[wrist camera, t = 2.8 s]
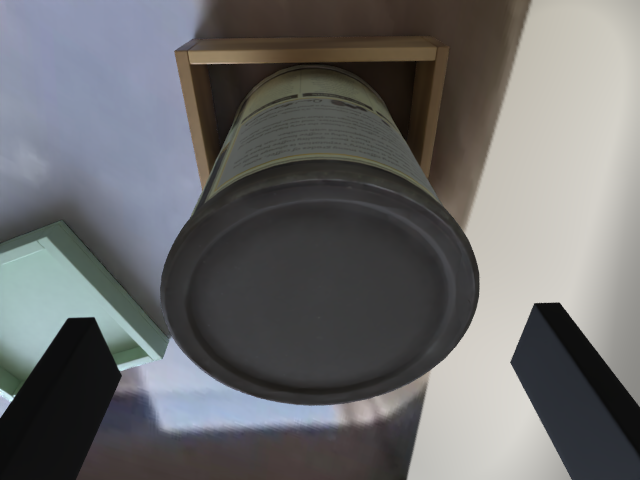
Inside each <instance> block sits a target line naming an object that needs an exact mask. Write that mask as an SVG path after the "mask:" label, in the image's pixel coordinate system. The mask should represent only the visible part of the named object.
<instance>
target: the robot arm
mask: <svg viewBox="0 0 640 480" xmlns="http://www.w3.org/2000/svg"><path fill="white" fill-rule="evenodd" d="M510 363H511V365H512V366H513V368H514V370H515V372H516V374H517V376H518V378H519V380H520V382H521V384H522V386H523V388H524V389H525V391H526V393H527V395H528V397H529V399H530V401H531V403H532V405H533V407H534V408H535V410H536V412H537V414H538V416H539V418H540V420H541V422H542V424H543V425H544V427H545V429H546V431H547V433H548V435H549V437H550V439H551V440H552V443H553V445H554V447H555V448H556V450H557V452H558V454H559V456H560V458H561V460H562V462H563V464H564V465H565V467H566V469H567V471H568V473H569V475H570V477H571V479H572V480H640V407H639V406H638V404H637V403H636V402H635V400H634V399H633V398H632V397H631V395H630V394H629V393H628V391H627V390H626V389H625V387H624V386H623V385H622V383H621V382H620V381H619V380H618V378H617V377H616V376H615V374H614V373H613V372H612V371H611V369H610V368H609V367H608V365H607V364H606V363H605V361H604V360H603V359H602V358H601V356H600V355H599V354H598V352H597V351H596V350H595V348H594V347H593V346H592V344H591V343H590V342H589V341H588V339H587V338H586V337H585V335H584V334H583V333H582V331H581V330H580V329H579V327H578V326H577V325H576V323H575V322H574V321H573V320H572V318H571V317H570V316H569V314H568V313H567V312H566V310H565V309H564V308H563V307H562V305H561V304H560V303H535V304H534V306H533V308H532V311H531V313H530V316H529V318H528V321H527V323H526V325H525V328H524V330H523V333H522V335H521V337H520V340H519V342H518V345H517V347H516V350H515V353H514V355H513V357H512V360H511V362H510ZM121 377H122V375H121V373H120V371H119V369H118V367H117V364H116V362H115V360H114V358H113V356H112V354H111V352H110V349H109V347H108V345H107V343H106V341H105V339H104V337H103V334H102V332H101V330H100V328H99V326H98V324H97V322H96V319H95V317H79V318H68V319H67V320H66V322H65V323H64V324H63V326H62V327H61V329H60V330H59V332H58V333H57V335H56V336H55V338H54V339H53V341H52V342H51V344H50V345H49V347H48V348H47V350H46V351H45V353H44V354H43V356H42V357H41V359H40V360H39V362H38V363H37V365H36V366H35V368H34V369H33V371H32V372H31V373H30V375H29V376H28V378H27V379H26V381H25V382H24V384H23V385H22V387H21V388H20V390H19V391H18V393H17V394H16V396H15V397H14V399H13V400H12V402H11V403H10V405H9V406H8V408H7V409H6V411H5V412H4V414H3V415H2V417H1V418H0V480H76V478H77V476H78V473H79V471H80V469H81V467H82V464H83V462H84V460H85V458H86V455H87V453H88V451H89V449H90V446H91V444H92V442H93V440H94V437H95V435H96V433H97V431H98V428H99V426H100V424H101V422H102V419H103V417H104V415H105V413H106V410H107V408H108V406H109V404H110V401H111V399H112V397H113V395H114V392H115V390H116V388H117V386H118V383H119V381H120V379H121Z"/></svg>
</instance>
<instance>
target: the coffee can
mask: <svg viewBox="0 0 640 480" xmlns="http://www.w3.org/2000/svg"><path fill="white" fill-rule="evenodd" d="M478 298H479V270H478V265H477V262H476V258H475V255H474V252H473V250H472V247H471V245H470V243H469V240H468V239H467V237H466V235H465V234H464V232H463V231H462V229H461V228H460V226H459V225H458V224H457V222H456V221H455V220H454V218H453V217H452V216H451V215H450V214H449V212H448V211H447V210H446V209H445V208H444V207H443V205H442V203H441V202H440V200H439V198H438V197H437V195H436V193H435V191H434V190H433V188H432V186H431V185H430V183H429V181H428V179H427V178H426V176H425V174H424V172H423V171H422V169H421V167H420V166H419V164H418V162H417V161H416V159H415V157H414V155H413V154H412V152H411V150H410V148H409V146H408V145H407V143H406V141H405V140H404V138H403V137H402V135H401V133H400V131H399V130H398V128H397V126H396V125H395V123H394V121H393V120H392V117H391V115H390V112H389V110H388V108H387V106H386V105H385V103H384V101H383V100H382V98H381V97H380V96H379V95H378V93H377V92H376V91H375V90H374V89H373V88H372V87H371V86H370V85H369V84H368V83H366V82H365V81H364V80H362V79H361V78H360V77H358V76H357V75H355V74H353V73H351V72H349V71H347V70H343V69H340V68H338V67H334V66H329V65H322V64H304V65H297V66H293V67H289V68H286V69H281V70H279V71H277V72H276V73H274V74H272V75H270V76H268V77H266V78H265V79H264V80H262V81H261V82H260V83H258V84H257V85H256V86H255V87H254V88H253V89H252V90H251V91H250V92H249V93H248V94H247V96H246V97H245V98H244V100H243V101H242V103H241V104H240V106H239V108H238V110H237V112H236V115H235V116H234V121H233V124H232V127H231V129H230V131H229V133H228V136H227V138H226V140H225V142H224V145H223V147H222V149H221V151H220V153H219V155H218V157H217V159H216V162H215V164H214V166H213V169H212V171H211V173H210V175H209V178H208V180H207V182H206V184H205V186H204V189H203V191H202V193H201V195H200V197H199V200H198V202H197V204H196V206H195V208H194V210H193V213H192V215H191V217H190V219H189V220H188V221H187V223H186V224H185V225H184V227H183V228H182V230H181V231H180V233H179V234H178V236H177V238H176V240H175V241H174V243H173V245H172V247H171V250H170V252H169V254H168V256H167V259H166V262H165V264H164V268H163V272H162V276H161V287H160V299H161V307H162V311H163V316H164V320H165V322H166V325H167V327H168V329H169V332H170V334H171V336H172V337H173V339H174V340H175V342H176V343H177V345H178V346H179V347H180V349H181V350H182V351H183V352H184V353H185V355H186V356H187V357H188V358H189V359H190V360H191V361H192V362H193V363H194V364H196V365H197V366H198V367H199V368H200V369H201V370H203V371H204V372H205V373H206V374H208V375H209V376H211V377H212V378H214V379H215V380H217V381H219V382H220V383H222V384H224V385H226V386H228V387H230V388H232V389H235V390H237V391H240V392H242V393H245V394H248V395H251V396H254V397H257V398H261V399H266V400H270V401H275V402H281V403H288V404H295V405H309V406H312V405H335V404H344V403H350V402H355V401H360V400H365V399H370V398H372V397H375V396H379V395H382V394H385V393H388V392H391V391H394V390H396V389H398V388H400V387H402V386H405V385H407V384H409V383H411V382H413V381H414V380H416V379H418V378H419V377H421V376H422V375H424V374H425V373H427V372H428V371H430V370H431V369H432V368H434V367H435V366H436V365H437V364H439V363H440V362H441V361H442V360H444V359H445V358H446V357H447V356H448V354H449V353H450V352H451V351H452V350H453V349H454V348H455V347H456V346H457V344H458V343H459V341H460V340H461V338H462V337H463V336H464V334H465V333H466V331H467V329H468V328H469V326H470V324H471V321H472V319H473V316H474V314H475V311H476V308H477V303H478Z"/></svg>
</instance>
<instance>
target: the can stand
mask: <svg viewBox="0 0 640 480" xmlns="http://www.w3.org/2000/svg"><path fill="white" fill-rule="evenodd" d="M449 50H450V47H449V46H447V45H445V44H444V43H442V42H440V41H438V40H437V39H435V38H433V37H432V36H363V37H291V38H219V39H192V40H190V41H189V42H187V43H186V44H184V45H183V46H181V47H180V48H178V49H177V50H175V51H174V52H175V57H176V62H177V67H178V72H179V77H180V82H181V87H182V92H183V97H184V102H185V107H186V112H187V117H188V122H189V127H190V132H191V137H192V142H193V147H194V152H195V157H196V162H197V166H198V171H199V176H200V181H201V186H202V191H203V189H204V186H205V184H206V182H207V180H208V178H209V175H210V173H211V171H212V169H213V166H214V164H215V162H216V159H217V157H218V155H219V153H220V151H221V146H220V140H219V133H218V127H217V121H216V115H215V108H214V102H213V96H212V90H211V83H210V77H209V71H208V65H207V64H247V63H313V62H379V61H417V63H416V71H415V80H414V88H413V96H412V104H411V112H410V120H409V129H408V137H407V145H408V146H409V148H410V150H411V152H412V154H413V155H414V157H415V159H416V161H417V162H418V164H419V166H420V167H421V169H422V171H423V172H424V174H425V176H426V178H427V179H428V178H429V172H430V166H431V160H432V153H433V147H434V141H435V135H436V129H437V123H438V117H439V111H440V105H441V99H442V92H443V86H444V80H445V74H446V68H447V62H448V56H449Z"/></svg>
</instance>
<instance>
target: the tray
mask: <svg viewBox="0 0 640 480" xmlns="http://www.w3.org/2000/svg"><path fill="white" fill-rule="evenodd" d="M79 317H95V319H96V322H97V324H98V326H99V328H100V330H101V332H102V334H103V337H104V339H105V341H106V343H107V345H108V347H109V349H110V352H111V354H112V356H113V358H114V360H115V362H116V364H117V367H118V369H119V371H122V370H125V369H129V368H132V367H136V366H139V365H143V364H146V363H150V362H153V361H157V360H160V359H163V357H164V354H165V351H166V348H167V346H168V343H169V339H168V338H167V337H166V336H165V335H164V333H163V332H162V331H161V330H160V329H159V328H158V327H157V326H156V325H155V323H154V322H153V321H152V320H151V319H150V318H149V317H148V316H147V314H146V313H145V312H144V311H143V310H142V309H141V308H140V307H139V306H138V304H137V303H136V302H135V301H134V300H133V299H132V298H131V297H130V295H129V294H128V293H127V292H126V291H125V290H124V289H123V288H122V287H121V285H120V284H119V283H118V282H117V281H116V280H115V279H114V278H113V276H112V275H111V274H110V273H109V272H108V271H107V270H106V269H105V267H104V266H103V265H102V264H101V263H100V262H99V261H98V260H97V259H96V257H95V256H94V255H93V254H92V253H91V252H90V251H89V250H88V248H87V247H86V246H85V245H84V244H83V243H82V242H81V241H80V240H79V238H78V237H77V236H76V235H75V234H74V233H73V232H72V231H71V229H70V228H69V227H68V226H67V225H66V224H65V223H64V222H63V221H62V220H61V221H58V222H55V223H53V224H50V225H47V226H45V227H42V228H40V229H37V230H34V231H32V232H29V233H26V234H24V235H21V236H18V237H16V238H13V239H11V240H8V241H5V242H3V243H0V395H1V396H3V397H4V398H5V399H7V400H8V401H10V402H12V400H13V399H14V397H15V396H16V394H17V393H18V391H19V390H20V388H21V387H22V385H23V384H24V382H25V381H26V379H27V378H28V376H29V375H30V373H31V372H32V371H33V369H34V368H35V366H36V365H37V363H38V362H39V360H40V359H41V357H42V356H43V354H44V353H45V351H46V350H47V348H48V347H49V345H50V344H51V342H52V341H53V339H54V338H55V336H56V335H57V333H58V332H59V330H60V329H61V327H62V326H63V324H64V323H65V322H66V320H67V319H68V318H79Z"/></svg>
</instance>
